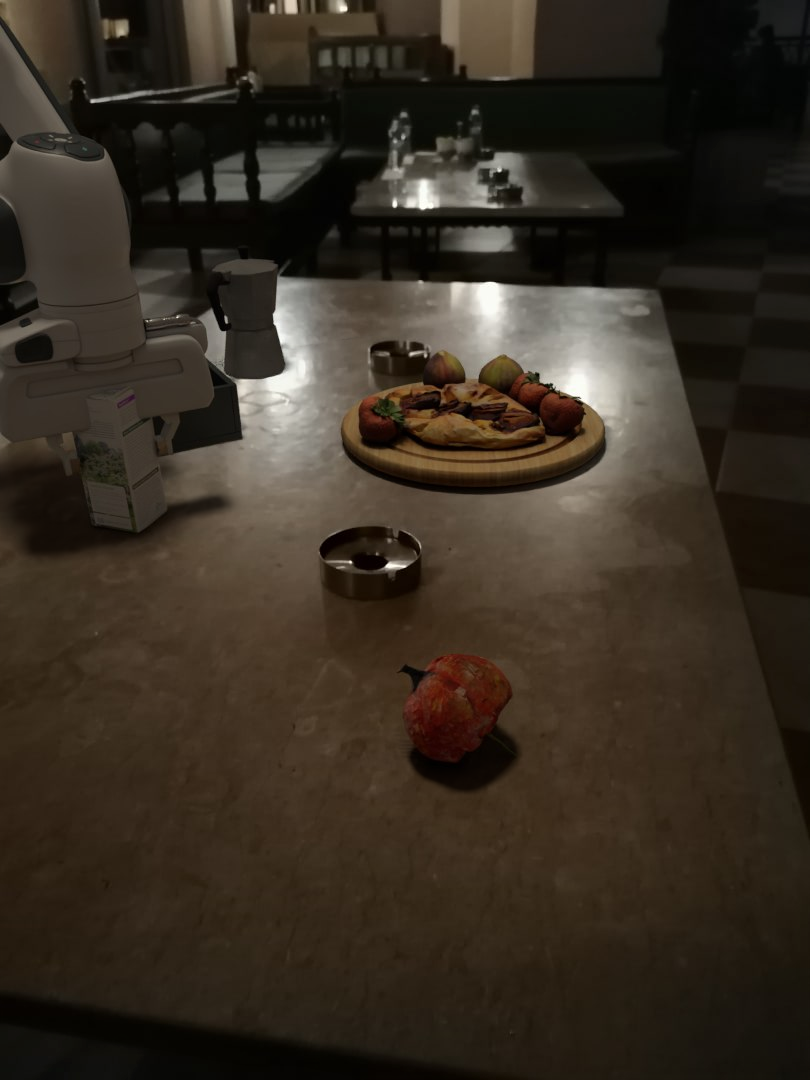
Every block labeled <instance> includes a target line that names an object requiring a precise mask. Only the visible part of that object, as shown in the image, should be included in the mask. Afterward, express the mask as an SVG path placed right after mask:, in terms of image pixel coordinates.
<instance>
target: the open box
mask: <svg viewBox="0 0 810 1080" xmlns="http://www.w3.org/2000/svg"><path fill="white" fill-rule="evenodd" d="M206 360H207V363H208V367H209V371H210V374H211V379H212V383H213V389H214V398H213V400H212V401H211V403H210V405H209V406H208V407H205V408H199V409H194V410H188V411H183V412H179V419H180V423H179V425H178V428H177V430H176V432H175V434H174V437H173V439H171V442H172V448H173V454H174V453H178V452H183V451H188V450H194V449H198V448H202V447H203V448H204V447H209V446H213V445H218V444H223V443H229V442H232V441H237V440H242V439H243V430H242V429H243V428H242V420H241V410H240V402H239V392H238V385H237V384H236V383H235V382H234V380H232V379H231V378H230V376H229V377H228V375H226V374H225V372H224V371H222V370H221V369H220V368H218V367H217V365H215V364H214V363H213V362H212V361H210V359H208V358H207V357H206ZM152 420H153V426H154V433H155V436H157V435H160V434H161V431H162V428H163V426H164V423H165V421H164V420H163V419H162V418H161V416H156V417H152Z"/></svg>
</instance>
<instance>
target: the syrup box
mask: <svg viewBox="0 0 810 1080" xmlns="http://www.w3.org/2000/svg"><path fill="white" fill-rule="evenodd" d="M86 401H87V406H88V410H89V415H90V419H91V428H90V429H85V430H80V431H74V432H71V433H72V437H73V441H74V446H75V451H76V452H77V455H79V457H80V462H81V464H80V465H81V467H82V473H80V474H81V479H82V484H83V489H84V493H85V499H86V503H87V507H88V512H89V513H88V514H89V517H90V522H91V526H94V527H100V528H105V529H110V530H111V529H112V530H118V531H123V532H130V533H134V534H138V533H139V534H140V533H141V532H142V531H143V530H145V529H146V528H148V527H149V526H151V524H153V523H154V522H155V521H156V520H158V519H159V518H160V517H161V516H163V515H164V514H165V513H166V512H167V511H168V505H167V498H166V495H165V494H166V493H165V488H164V483H163V478H162V477H163V475H162V470H161V465H160V457H158V454H157V447H156V442H155V433H154V426H153V420H152V417H150V418H145V419H139V418H138V415H137V410H136V403H135V396H134V391H133V390H132V389H131V386H129V387H124V388H119V389H114V390H110V391H106V392H102V393H99V394H95V395H92V396H90V398H86Z"/></svg>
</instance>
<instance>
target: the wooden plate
mask: <svg viewBox="0 0 810 1080" xmlns="http://www.w3.org/2000/svg"><path fill="white" fill-rule="evenodd" d="M540 375H541V374H540V372H537V371H535V372H533V371H531V370H527V372H525V371H524V369H523V367H522V365H520V363H518V362H517V361H516V360H515V359H513V358H511V357H509V356H508V355H507V354H504V353H503V354H500V355H498V356H496V357H495V358H493V359H492V360H490V361H488V362H487V363H486V364H485V365H484V366H483V367H482V368H481V369H480V371H479V374H478V378H467V376H466V371H465V368H464V365H462V362H461V361H460V360H459V359H458V358H457V357H456V356H455V355H453V354H451V353H449V352H447V351H446V350H444V349H443V350H440V351H436V353H434V354H433V355H432V356H431V357H430V358H429V359H428V361H427V363H426V364H425V366H424V369H423V373H422V381H421V382H414V383H408V384H404V385H400V386H395V387H392V388H388V389H385V390H382V391H380V392H376V393H375V394H374V393H373V394H372V395H370V396H367V397H366V398H363V399H362V400H360V401H359V402H357V403H356V404H355V405H353V407H351V408H350V409H349V410H348V412H347V413H345V415H344V417H343V418H342V422H341V425H340V436H341V440H342V443H343V444H344V447H345V448H346V449H347V450H348V451H349V453H350V454H351V455H352V456H353V457H354V458H356V459H357V460H359V461H360V462H361V463H363V464H364V465H366V466H368V467H370V468H372V469H375V470H376V471H378V472H381V473H384V474H387V475H390V476H392V477H396V478H400V479H404V480H408V481H412V482H417V483H422V484H428V485H429V484H430V485H439V486H448V487H465V488H484V487H485V488H487V487H503V486H513V485H514V486H515V485H521V484H527V483H534V482H538V481H543V480H546V479H551V478H554V477H559V476H560V475H563V474H566V473H568V472H570V471H573V470H575V469H577V468H579V467H581V466H583V465H584V464H586V463H587V462H589V461H591V460H592V458H594V457H595V456H596V455H597V454H598V452H599V451H600V450H601V448H602V446H603V445H604V442H605V438H606V425H605V423H604V420H603V418H602V417H601V416H600V415H599V413H598V412H597V411H596V410H595V409H594V408H593V407H592V406H590V405H589V404H588V403H587V402H584V401H583V400H582V398H581V396H574V395H571V394H569V393H566V392H563V391H561V389H559V390H558V389H556V388H557V386H556V385H554V383H552V382H547V383H544V382H541V381H540V379H541V376H540Z"/></svg>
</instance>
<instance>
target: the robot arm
mask: <svg viewBox="0 0 810 1080" xmlns="http://www.w3.org/2000/svg"><path fill="white" fill-rule="evenodd" d="M0 125H1V126H2V128H3V129H4V130H5V132H6V134H7V135H8V137H9V138H10V140H11V141H12V142H13V143H12V144H11V145H10V148H9V152H8V153H7V154H6V155H5V157H4V158H2V159H1V160H0V286H6V285H13V284H18V283H22V282H26V281H27V282H28V281H29V282H31V283H32V284H33V285H34V286H35V289H36V299H37V303H38V308H35V309H34V310H31V311H29V312H27V313H25V314H23V315H21V316H19V317H17V318H16V317H15V319H12V320H10V321H8V322H5V323H3V324H0V435H1V436H2V437H4V438H5V439H6V440H8V441H9V442H11V443H19V442H25V441H29V440H37V439H41V438H44V439H45V442H46V444H47V446H48V448H50V450H51V451H52V452H53V453H55V455H57V457H59V458H60V460H61V462H62V465H63V469H64V472H65V475H66V476H68V477H69V476H73V475H77V474H81V473H82V467H81V465H80V464H81V462H80V457H79V455H77V452H76V450H75V451H70V452H68V451H67V450H66V449H65V448H64V447H63V446H62V445H63V444H64V443H65V442H64V438H63V434H67V433H72V432H74V431H80V430H85V429H90V428H91V419H90V415H89V410H88V406H87V401H86V398H90V396H92V395H95V394H99V393H102V392H106V391H110V390H114V389H119V388H124V387H129V386H131V389H132V390H133V391H134V396H135V403H136V410H137V415H138V418H139V419H145V418H150V417H156V416H161V418H162V419H163V420H164V421H165V423H164V426H163V428H162V431H161V434H160V435H157V436H155V442H156V447H157V454H158V458H163V457H167V456H172V455H174V453H173V448H172V442H171V439H173V437H174V434H175V432H176V430H177V428H178V425H179V423H180V419H179V412H183V411H188V410H194V409H199V408H205V407H208V406H209V405H210V403H211V401H212V400H213V398H214V389H213V383H212V379H211V374H210V371H209V367H208V363H207V360H206V358H207V357H206V353H207V351H208V347H209V340H208V334H207V327H206V325H205V324H204V323H203V322H202V321H201V320H200V319H199V318H197V317H193V316H190V314H188V313H178V314H175V315H171V316H156V317H148V318H144V317H143V312H142V311H143V310H142V304H141V298H140V297H141V296H140V292H139V286H138V283H137V280H136V277H135V276H134V274H133V271H132V268H131V262H130V252H131V243H132V240H131V230H132V210H131V205H130V202H129V198H128V196H127V193H126V191H125V190H124V188H123V185H122V184H121V183H120V180H119V178H118V174H117V171H116V168H115V165H114V163H113V161H112V159H111V157H110V155H109V153H108V151H107V149H106V148H105V147H104V146H103V145H101V144H100V143H99V142H97V141H96V140H94V139H92V138H89V137H86V136H83V135H81V134H80V132H79V131H78V129H77V128H76V127H75V125H74V123H73V122H72V120H71V119H70V117H69V116H68V114H67V113H66V111H65V110H64V108H63V106H62V105H61V104H60V101H59V100H58V98H57V97H56V96H55V94H54V93H53V91H52V90H51V88H50V87H49V85H48V83H47V82H46V81H45V79H44V77H43V76H42V74H41V73H40V71H39V70H38V68H37V67H36V65H35V63H34V62H33V61H32V59H31V57H30V56H29V54H28V53H27V51H26V50H25V48H24V47H23V45H22V44H21V42H20V41H19V39H18V38H17V37H16V35H15V34H14V32H13V30H12V29H11V28H10V27H9V25H8V24H7V23H6V22H5V20H4V19H3V17H1V15H0ZM191 322H192V323H191Z"/></svg>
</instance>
